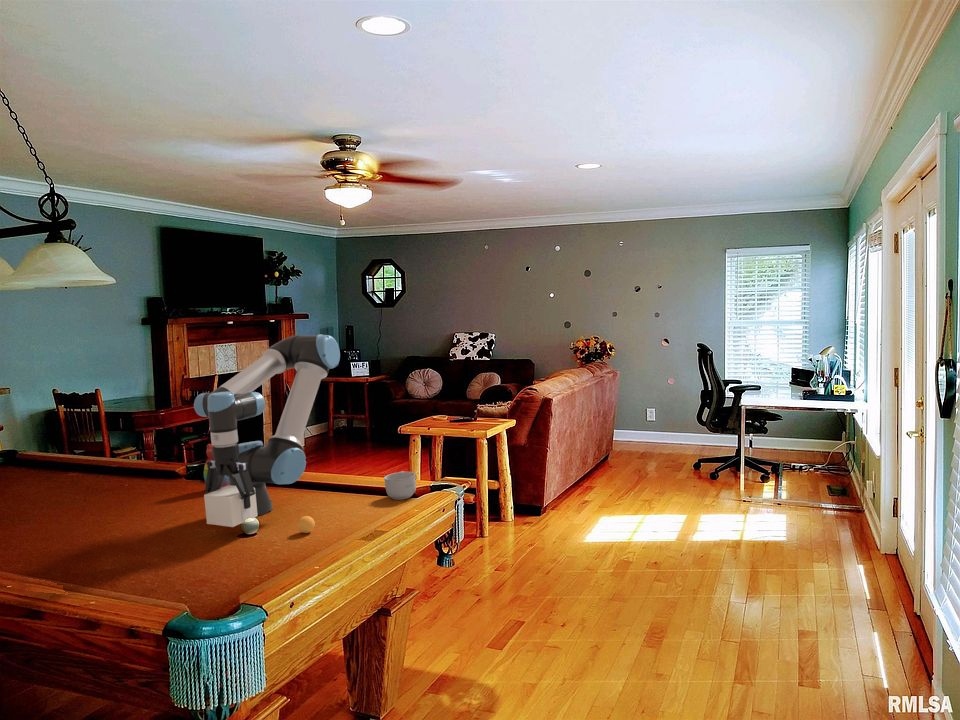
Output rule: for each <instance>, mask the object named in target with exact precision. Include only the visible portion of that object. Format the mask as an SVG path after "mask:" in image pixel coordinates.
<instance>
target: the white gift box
mask: <svg viewBox="0 0 960 720" xmlns="http://www.w3.org/2000/svg"><path fill="white" fill-rule="evenodd" d="M254 490H255V488H254ZM250 492H251V491H250ZM245 494H246V493H245ZM241 497H242V496H241V495H240V493H239V491H238V489H237V487H236V486H232V485H229V486H226V487H224V488H221V489H218V490H216V491H213V492H210V493H204V495H203V499H204V507H205V508H204V509H205V518H206V524H207V525H213V526H215V525H216V526H221V527H229V528H234V527H236V526H238V525H240V524H243V523H245V522H246V521H245V520H242V515H241V505H240V498H241ZM250 504H251V507H250V518H252V519H254V518H257V517H259V516H258V514H257V504H256V493H255V494H254V495H252V496H250Z"/></svg>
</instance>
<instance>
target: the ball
mask: <svg viewBox="0 0 960 720" xmlns="http://www.w3.org/2000/svg"><path fill="white" fill-rule="evenodd" d="M315 525H316V522H315V520H314V518H313V517H311V516H308V515H305V516H302V517H301V518H299V520H298V522H297V528H298V530H299V532H301V533H302V534H309V533H311V532H312V531H313V530H314V529H315Z"/></svg>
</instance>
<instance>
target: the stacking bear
mask: <svg viewBox="0 0 960 720" xmlns="http://www.w3.org/2000/svg"><path fill="white" fill-rule="evenodd" d="M212 447H213V445H212V443H208V444H207V445H206V451H205V453H206V457H207V458H208V459H207V460H206V461H205V463H204V469H203V479H204V482H205V484H206V479H207V472H208V467H207V462H210V461H213V460H215V459H213V454H212ZM226 486H229V482H228V476H226V475H225V476H224V479H223V482H222V484H221V487H220V489H221V488H224V487H226Z"/></svg>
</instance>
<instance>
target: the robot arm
mask: <svg viewBox="0 0 960 720" xmlns="http://www.w3.org/2000/svg"><path fill="white" fill-rule="evenodd" d="M339 346H340V345H339V344H338V342H337V340H336V339H335V338H334V337H333V336H332V335H329V334H322V333H321V334H309V335H308V334H305V335H303V334H302V335H301V334H300V335H299V334H297V335H296V334H295V335H291V336H288V337H286V338H284V339H282V340H279V341H278V342H276V343H274V344H273V345H271V346H269V348H267V349H266V350H264V351H263V353H262V356H261V357H259V358H258V359H256V360H255V361H253V362H252V363H251V364H250V365H248V366H247V367H246V368H244V369H242V370H241V371H239V372H238V373H237V374H235V375H234V376H233V377H231V378H230V379H228V380H227V381H226V382H224V383H223V384H221V385H220V386H219V387H217V388H215V390H213V391H211V392H203V393H200V394H198V395H197V396H196V397H195V399H194V401H193V402H194V403H193V409H194V411H195V413H196V415H198V416H200V417H203V418H204V417H206V418H208V422H209V429H210V430H209V431H210V441H211V445H213V447H212V454H213V459H215V460H213V461H210V462H207V467H208V472H207V479H206V483H205V488H204V492H205V494H208V493H210V492H213V491H216V490H218V489H220V487H221V484H222V482H223V479H224V476H225V475H226V476H228V482H229V485H232V486H236V487H237V489H238V491H239V493H240V495H241V496H242V497H241V498H240V505H241V515H242V520H246V519H248V518H250V507H251V504H250V496H252V495H254V494H255V493H256V504H257V514H258V515H259V516H261V515H265V514H268V513H270V512H272V510H273V501H272V499H271V498H270V495H269V491H268V489H267V487H266V485H267V484H276V485H290V484H293V483H296V482H297V481H298V480H300V479H301V477H302V475H303V474H304V473H305V470H306V465H307V461H306V459H307V457H306V454H305V452H304V451H303V450H304V446H303V444H302V439H303V436H304V433H305V430H306V427H307V424H308V421H309V419H310V415H311V411H312V409H313V406H314V403H315V399H316V396H317V394H318V391H319V388H320V384H321V381H322V380H323V379H325V378H327V376H328V374H329V371H330V369H334V368H336V367H338V366H339V362H340V359H341V352H340V347H339ZM291 369H295V371H296V374H295V376H294V379H293V382H292V385H291V387H290V390H289V394H288V396H287V399H286V403H285V406H284V408H283V411H282V414H281V416H280V420H279V421H278V422H279V423H278V425H277V428H276V431H275V434H274V435H271V436H270V437H269V438H267V439H268V440H267V442H266V446H264V443H263V441H262V440H255V441H249V442H247V441H246V442H242V443H239V435H238V421H239V422H240V421H243V420H246V419H250V418H254V417H256V416H259V415H261V414H262V413H263V412H264V411H265V409H266V401H265V398H264V396H263V395H262V394H261V393H260V392H258V391H257V392H256V391H255V390H257V388H259V387H261V386H262V385H263V384H264V383H265V382H267V381H269V380H270V379H271V378H272V377H274V376H275V375H276V374H277V375H279V374H282V373H284V372H285V371H287V370H291ZM254 488H255V490H254ZM250 491H251V492H250ZM245 493H246V494H245ZM269 511H270V512H269Z"/></svg>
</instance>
